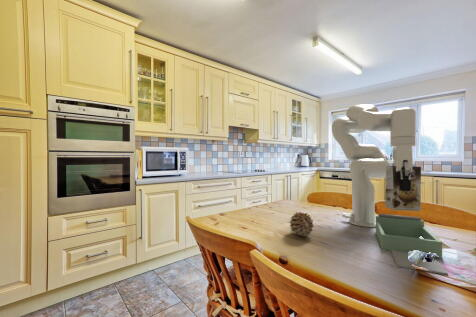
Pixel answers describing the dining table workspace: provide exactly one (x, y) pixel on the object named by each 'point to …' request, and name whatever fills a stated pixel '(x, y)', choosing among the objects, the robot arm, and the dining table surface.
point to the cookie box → (403, 198)
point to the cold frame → (406, 234)
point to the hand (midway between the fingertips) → (402, 188)
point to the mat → (403, 262)
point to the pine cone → (301, 224)
